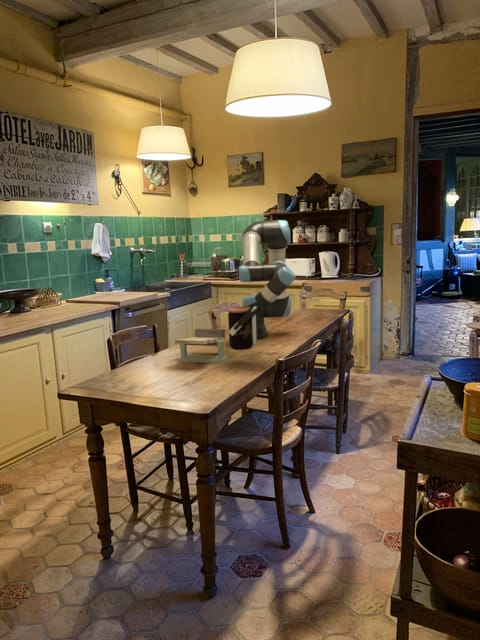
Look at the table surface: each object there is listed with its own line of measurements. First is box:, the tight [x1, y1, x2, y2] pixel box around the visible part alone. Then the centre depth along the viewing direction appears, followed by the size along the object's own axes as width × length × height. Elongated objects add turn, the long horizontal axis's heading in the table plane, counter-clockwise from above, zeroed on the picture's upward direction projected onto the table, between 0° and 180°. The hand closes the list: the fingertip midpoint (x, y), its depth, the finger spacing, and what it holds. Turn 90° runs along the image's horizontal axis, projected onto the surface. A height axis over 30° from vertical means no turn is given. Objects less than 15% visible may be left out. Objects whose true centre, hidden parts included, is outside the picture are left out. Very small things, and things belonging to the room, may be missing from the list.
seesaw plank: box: [174, 328, 226, 347], centre depth 231 cm, size 27×16×7 cm, turn 162°
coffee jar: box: [227, 305, 254, 351], centre depth 223 cm, size 11×11×18 cm
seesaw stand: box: [177, 340, 228, 364], centre depth 233 cm, size 8×22×10 cm, turn 72°
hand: (234, 330), depth 224 cm, fingers closed on coffee jar, 11 cm apart
